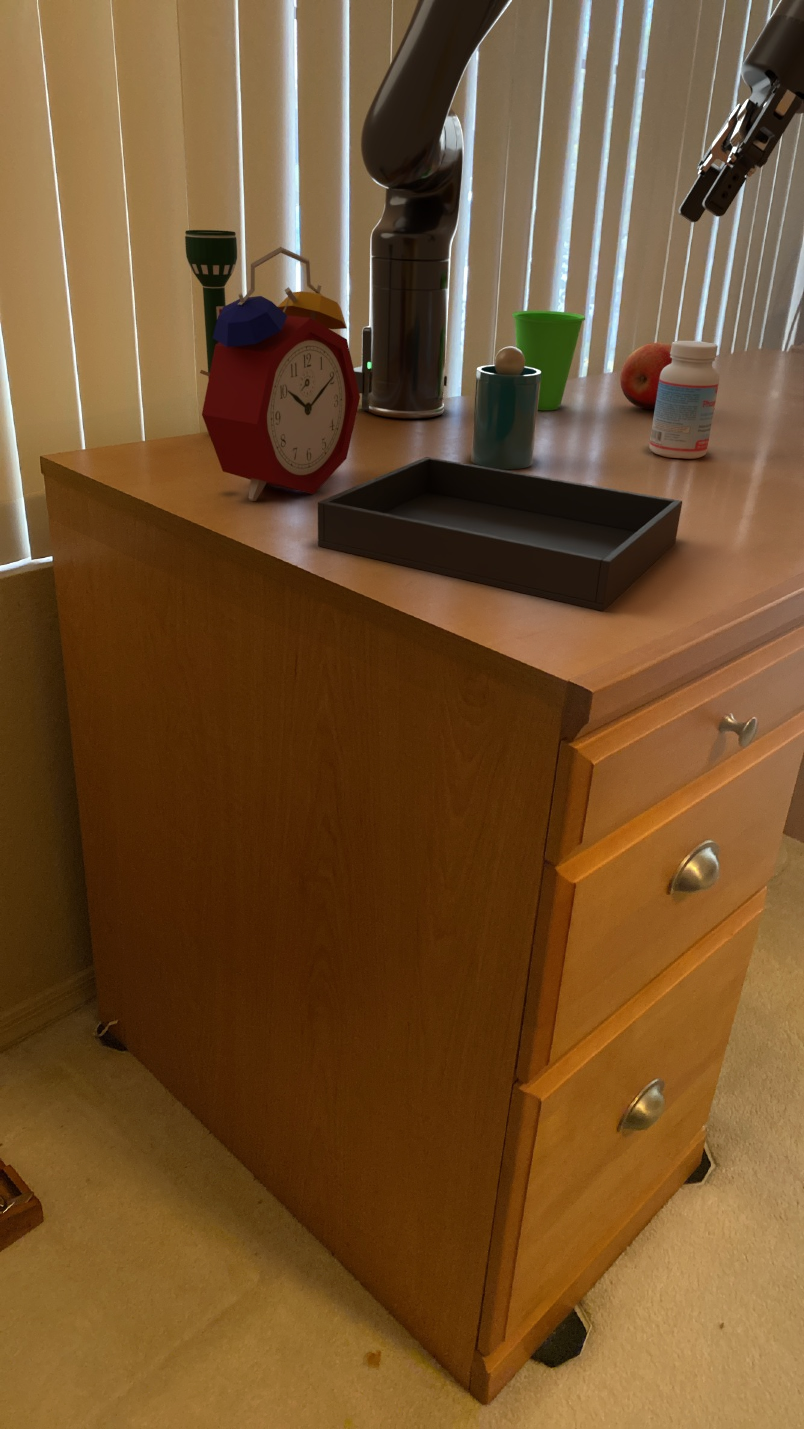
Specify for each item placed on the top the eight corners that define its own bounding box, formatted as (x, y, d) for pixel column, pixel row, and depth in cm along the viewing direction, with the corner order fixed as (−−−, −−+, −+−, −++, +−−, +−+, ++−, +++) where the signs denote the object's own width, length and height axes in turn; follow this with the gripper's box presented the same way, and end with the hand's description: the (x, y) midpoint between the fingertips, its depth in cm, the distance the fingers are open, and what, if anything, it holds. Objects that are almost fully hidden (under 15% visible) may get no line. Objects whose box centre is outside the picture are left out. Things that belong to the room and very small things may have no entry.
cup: (580, 403, 129) (591, 313, 123) (567, 416, 121) (578, 321, 116) (513, 396, 131) (521, 308, 126) (497, 409, 124) (504, 316, 118)
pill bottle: (707, 462, 103) (728, 349, 98) (648, 457, 104) (665, 345, 99) (704, 448, 108) (723, 341, 103) (647, 444, 109) (664, 337, 104)
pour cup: (460, 463, 99) (465, 370, 95) (487, 451, 104) (493, 362, 100) (517, 473, 97) (525, 378, 92) (541, 460, 102) (550, 369, 97)
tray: (317, 546, 76) (317, 501, 74) (424, 495, 89) (426, 456, 87) (602, 611, 66) (609, 562, 64) (675, 543, 79) (682, 500, 77)
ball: (488, 378, 96) (490, 346, 95) (500, 374, 98) (503, 343, 97) (515, 382, 95) (518, 350, 93) (528, 378, 97) (531, 346, 96)
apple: (694, 411, 127) (705, 345, 123) (650, 417, 122) (660, 349, 118) (648, 400, 132) (657, 337, 128) (604, 405, 128) (612, 340, 124)
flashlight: (214, 442, 104) (201, 233, 94) (189, 433, 107) (174, 229, 98) (254, 435, 107) (246, 232, 97) (229, 427, 110) (218, 229, 101)
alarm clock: (262, 514, 82) (252, 252, 73) (186, 496, 86) (166, 245, 77) (361, 477, 94) (363, 245, 84) (289, 462, 97) (283, 240, 88)
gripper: (747, 32, 93) (648, 199, 99) (803, -10, 80) (685, 185, 86) (809, 78, 95) (708, 240, 100) (874, 44, 82) (754, 232, 87)
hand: (698, 215), depth 93 cm, fingers open, 8 cm apart
